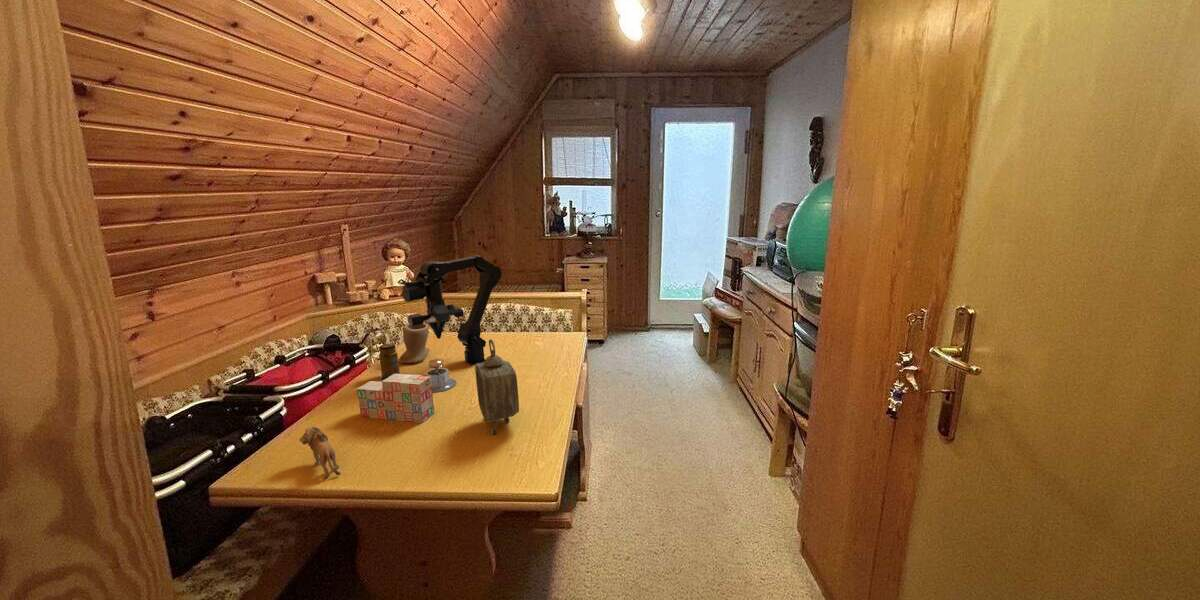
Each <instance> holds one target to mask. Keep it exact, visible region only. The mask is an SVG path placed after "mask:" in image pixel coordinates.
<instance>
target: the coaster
mask: <svg viewBox="0 0 1200 600" xmlns="http://www.w3.org/2000/svg"><path fill="white" fill-rule="evenodd" d="M456 386H457V380H456V379H454V378H451V377H450V384H449V385H448V386H446V387H444V388H439V389H432V393H433V394H434V393H435V394H437V393H442V392H445V391H446V392H447V391H448V390H451V389H454V387H456Z"/></svg>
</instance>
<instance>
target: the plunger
mask: <svg viewBox="0 0 1200 600" xmlns="http://www.w3.org/2000/svg"><path fill="white" fill-rule="evenodd" d="M428 364H429V365H428V367H429V368H430V369H435V370H436V375H438V368H443V366H444V362H443V359H442V358H434V359H431V360H429V361H428Z"/></svg>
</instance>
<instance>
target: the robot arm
mask: <svg viewBox="0 0 1200 600" xmlns="http://www.w3.org/2000/svg"><path fill="white" fill-rule="evenodd" d="M471 268H474V269H475V270H476V271H477V272H478V273H479V277H478V278H479V287H478V291H477V292H476V293H477V294H476V296H475V298H474V302H473V304H472V308H471V310H470V313H469V315H468V319H467V320H466V321H465V322H460V324H459V328H458V330H457V332H456V333H457V339H458V341H459V342H461V344H462V346H464V348H465V349H464V362H466V363H467V364H469V365H470V366H474V365H475V364H478V363H484V362H485V360H486V358H485V351H484V348H485V347H486V344H487V342H486V341H485V340H484V339H483V338H482V337H481V333H482V329H481V322H482V319H483V316H484V314H485V311H486V308H487V305H488V303H489V300H490V297H491V294H492V291H493V289H494V288H495V287H496V286H497V285H498V284H499V282H500V281H501V278H502V276H503V272H502V268H500V267H499V266H496V265H494V264H492V263H491V262H489V261H488V260H486V259H485V258H484V257H482V256H481V255H475V254H472V255H471V256H470V255H469V256H465V257H460V258H456V259H450V260H446V261H424V262H422V264H421V266H420V268H419V272H418V274H417V276H416V277H415V279H414V281H405V282H404V283H403V286H402V291H401V295H402V298H403V300H404V302H406V303H410V302H416V301H420V300H425V302H424V303H426V310H425V311H426V314H424V315H422V314H420V313H413V314H409V315H408V316H407V324H408V323H409V324H411V325H420V324H423V323H425V324H427V325H429V327H431V329H432V331H433V333H434V335H435V336H436V339H438V340H439V339H441V337H442V334H443V330H444V327H445V325H446V323H447V322H449V321H450V319H451V316H454V317H455V318H461V317H464V316H465V313H464V309H463V308H461V307H458V306H455V305H454V304H452V303H451V304H448V305H446V303H445V299H444V298H443V297H444V296H443V288H442V284H446V283H447V282H448V281H447V280H446V279H444V278H443V277H445V276H446V275H447V274H449V273H452V272H453V273H454V272H457V271H462V270H466V269H471ZM424 298H425V299H424Z"/></svg>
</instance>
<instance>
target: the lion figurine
mask: <svg viewBox="0 0 1200 600" xmlns="http://www.w3.org/2000/svg"><path fill="white" fill-rule="evenodd" d="M298 441H299V442H300V443H302V445H303V446H304V445H306V444H307V445H308V447H310V449H311V451H312V453H313V457H314V460H315V461H314V463H313V465H314V466H315V465H316V466H319V465H321V467H322V469H323V472H324V476H323V478H324V479H327V478H329V477H330V472H329V469H328V467H327V463H328V465H329V468H330V470H331V471H332V472H334V474H335V476H340V475H341V473H340V472H339V471H338V470H336V469H338V468H340V465H339V464H338V463H337V459H336V452H335V449H334V448H333V446H332V444H330V442H329V438H328V435H327V434H325V433H324V432H323V430H321V429H320V428H319V427H315V426H309V427H307V428H305V432H304V434H303V435H302V436H301V437H300V438H299V440H298Z"/></svg>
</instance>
